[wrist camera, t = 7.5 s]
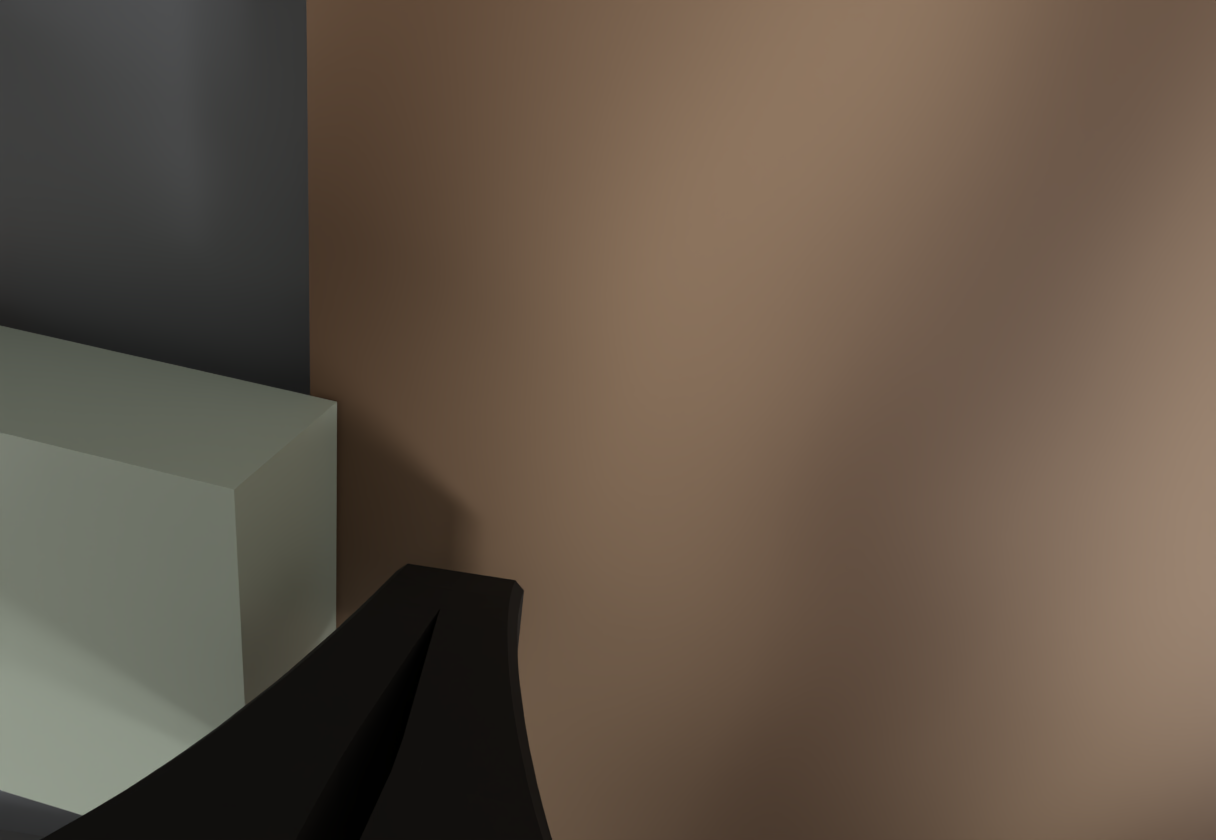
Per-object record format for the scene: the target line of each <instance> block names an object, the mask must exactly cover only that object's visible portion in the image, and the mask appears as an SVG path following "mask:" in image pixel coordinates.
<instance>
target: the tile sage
mask: <svg viewBox="0 0 1216 840" xmlns="http://www.w3.org/2000/svg"><path fill="white" fill-rule="evenodd" d="M336 520H337V402H336V401H332V400H328V399H323V398H319V397H314V396H310V395H305V394H301V393H297V392H292V391H288V390H283V389H279V388H274V387H270V386H266V385H261V384H257V383H252V382H248V381H243V380H239V379H235V378H230V377H226V376H221V375H217V374H212V373H208V372H204V371H199V370H195V369H190V368H186V367H182V366H177V365H173V364H168V363H164V362H159V361H155V360H151V359H146V358H142V357H137V356H133V355H128V354H124V353H120V352H115V351H111V350H106V349H102V348H97V347H93V346H89V345H84V344H80V343H75V342H71V341H66V340H62V339H58V338H53V337H49V336H44V335H40V334H36V333H31V332H27V331H22V330H18V329H13V328H9V327H5V326H0V790H1V791H5V792H8V793H11V794H14V795H18V796H21V797H24V798H28V799H31V800H34V801H37V802H41V803H44V804H47V805H51V806H54V807H57V808H60V809H64V810H67V811H70V812H74V813H77V814H80V815H84V814H86V813H88V812H89V811H91V810H93V809H94V808H96V807H98V806H99V805H101V804H103V803H104V802H106V801H108V800H109V799H111V798H113V797H114V796H116V795H118V794H120V793H121V792H123V791H124V790H126V789H128V788H129V787H131V786H132V785H134V784H135V783H137V782H138V781H140V780H141V779H143V778H144V777H146V776H148V775H149V774H151V773H152V772H154V771H155V770H157V769H158V768H160V767H161V766H163V765H164V764H166V763H167V762H169V761H170V760H172V759H173V758H175V757H176V756H177V755H179V754H180V753H182V752H183V751H185V750H186V749H188V748H189V747H190V746H192V745H193V744H195V743H196V742H197V741H199V740H200V739H202V738H203V737H204V736H206V735H207V734H209V733H210V732H211V731H213V730H214V729H215V728H217V727H218V726H219V725H221V724H222V723H223V722H225V721H226V720H227V719H228V718H230V717H231V716H232V715H234V714H235V713H236V712H237V711H239V710H240V709H241V708H243V707H244V706H245V705H246V704H248V703H249V702H250V701H252V700H253V699H254V698H255V697H257V696H258V695H259V694H260V693H262V692H263V691H264V690H266V689H267V688H268V687H269V686H271V685H272V684H273V683H275V682H276V681H277V680H278V679H279V678H281V677H282V676H283V675H284V674H285V673H287V672H288V671H289V670H290V669H291V668H292V667H294V666H295V665H296V664H297V663H298V662H299V661H300V660H302V659H303V658H304V657H305V656H306V655H307V654H308V653H310V652H311V651H312V650H313V649H314V648H315V647H316V646H318V645H319V644H320V643H321V642H322V641H323V640H325V639H326V638H327V637H328V636H329V635H330V634H331V633H332V632H334V631H335V630H336Z"/></svg>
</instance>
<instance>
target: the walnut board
mask: <svg viewBox="0 0 1216 840" xmlns="http://www.w3.org/2000/svg"><path fill="white" fill-rule="evenodd" d="M306 7H307V111H308V215H309V319H310V396H314V397H319V398H323V399H328V400H332V401H336V402H337V520H336V629H337V628H338V627H339V626H340V625H341V624H342V623H343V622H344V621H345V620H346V619H348V618H349V617H350V616H351V615H352V614H353V613H354V612H355V611H356V610H357V609H358V608H359V607H360V606H361V605H362V604H363V603H365V602H366V601H367V600H368V599H369V598H370V597H371V596H372V595H373V594H374V593H375V592H376V591H377V590H378V589H379V588H380V587H381V586H382V585H383V584H384V583H385V582H386V581H387V580H388V579H389V578H390V577H391V576H392V575H393V574H394V573H395V572H396V571H397V570H399V569H400V568H402V567H403V566H405V565H406V564H414V565H421V566H427V567H434V568H440V569H447V570H453V571H459V572H466V573H472V574H479V575H485V576H492V577H498V578H505V579H511V580H516V581H517V583H518V584H519V585H520V586H521V587H522V589H523V590H524V596H523V606H522V615H521V625H520V634H519V644H518V669H519V680H520V688H521V696H522V703H523V711H524V718H525V725H526V731H527V736H528V742H529V747H530V752H531V757H532V761H533V766H534V771H535V775H536V780H537V785H538V789H539V793H540V797H541V801H542V805H543V809H544V812H545V816H546V820H547V823H548V827H549V830H550V834H551V837H552V840H1216V0H306Z"/></svg>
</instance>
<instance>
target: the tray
mask: <svg viewBox="0 0 1216 840" xmlns="http://www.w3.org/2000/svg"><path fill="white" fill-rule="evenodd" d="M0 326H5V327H9V328H13V329H18V330H22V331H27V332H31V333H36V334H40V335H44V336H49V337H53V338H58V339H62V340H66V341H71V342H75V343H80V344H84V345H89V346H93V347H97V348H102V349H106V350H111V351H115V352H120V353H124V354H128V355H133V356H137V357H142V358H146V359H151V360H155V361H159V362H164V363H168V364H173V365H177V366H182V367H186V368H190V369H195V370H199V371H204V372H208V373H212V374H217V375H221V376H226V377H230V378H235V379H239V380H243V381H248V382H252V383H257V384H261V385H266V386H270V387H274V388H279V389H283V390H288V391H292V392H297V393H301V394H305V395H310V319H309V215H308V111H307V7H306V0H0ZM81 816H83V815H80V814H77V813H74V812H70V811H67V810H64V809H60V808H57V807H54V806H51V805H47V804H44V803H41V802H37V801H34V800H31V799H28V798H24V797H21V796H18V795H14V794H11V793H8V792H5V791H1V790H0V840H40V839H42V838H44V837H46V836H47V835H49V834H51V833H53V832H54V831H56V830H58V829H60V828H62V827H63V826H65V825H67V824H69V823H70V822H72V821H74V820H76V819H77V818H79V817H81Z"/></svg>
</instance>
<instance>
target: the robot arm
mask: <svg viewBox="0 0 1216 840" xmlns="http://www.w3.org/2000/svg"><path fill="white" fill-rule="evenodd" d="M523 596H524V590H523V589H522V587H521V586H520V585H519V584H518V583H517V581H516V580H511V579H505V578H498V577H492V576H485V575H479V574H472V573H466V572H459V571H453V570H447V569H440V568H434V567H427V566H421V565H414V564H406V565H405V566H403V567H402V568H400V569H399V570H397V571H396V572H395V573H394V574H393V575H392V576H391V577H390V578H389V579H388V580H387V581H386V582H385V583H384V584H383V585H382V586H381V587H380V588H379V589H378V590H377V591H376V592H375V593H374V594H373V595H372V596H371V597H370V598H369V599H368V600H367V601H366V602H365V603H363V604H362V605H361V606H360V607H359V608H358V609H357V610H356V611H355V612H354V613H353V614H352V615H351V616H350V617H349V618H348V619H346V620H345V621H344V622H343V623H342V624H341V625H340V626H339V627H338V628H337V629H336V630H335V631H334V632H332V633H331V634H330V635H329V636H328V637H327V638H326V639H325V640H323V641H322V642H321V643H320V644H319V645H318V646H316V647H315V648H314V649H313V650H312V651H311V652H310V653H308V654H307V655H306V656H305V657H304V658H303V659H302V660H300V661H299V662H298V663H297V664H296V665H295V666H294V667H292V668H291V669H290V670H289V671H288V672H287V673H285V674H284V675H283V676H282V677H281V678H279V679H278V680H277V681H276V682H275V683H273V684H272V685H271V686H269V687H268V688H267V689H266V690H264V691H263V692H262V693H260V694H259V695H258V696H257V697H255V698H254V699H253V700H252V701H250V702H249V703H248V704H246V705H245V706H244V707H243V708H241V709H240V710H239V711H237V712H236V713H235V714H234V715H232V716H231V717H230V718H228V719H227V720H226V721H225V722H223V723H222V724H221V725H219V726H218V727H217V728H215V729H214V730H213V731H211V732H210V733H209V734H207V735H206V736H204V737H203V738H202V739H200V740H199V741H197V742H196V743H195V744H193V745H192V746H190V747H189V748H188V749H186V750H185V751H183V752H182V753H180V754H179V755H177V756H176V757H175V758H173V759H172V760H170V761H169V762H167V763H166V764H164V765H163V766H161V767H160V768H158V769H157V770H155V771H154V772H152V773H151V774H149V775H148V776H146V777H144V778H143V779H141V780H140V781H138V782H137V783H135V784H134V785H132V786H131V787H129V788H128V789H126V790H124V791H123V792H121V793H120V794H118V795H116V796H114V797H113V798H111V799H109V800H108V801H106V802H104V803H103V804H101V805H99V806H98V807H96V808H94V809H93V810H91V811H89V812H88V813H86V814H84V815H83V816H81V817H79V818H77V819H76V820H74V821H72V822H70V823H69V824H67V825H65V826H63V827H62V828H60V829H58V830H56V831H54V832H53V833H51V834H49V835H47V836H46V837H44V838H42V839H40V840H552V837H551V834H550V830H549V827H548V823H547V820H546V816H545V812H544V809H543V805H542V801H541V797H540V793H539V789H538V785H537V780H536V775H535V771H534V766H533V761H532V757H531V752H530V747H529V742H528V736H527V731H526V725H525V718H524V711H523V703H522V696H521V688H520V680H519V669H518V644H519V634H520V625H521V615H522V606H523Z"/></svg>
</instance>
